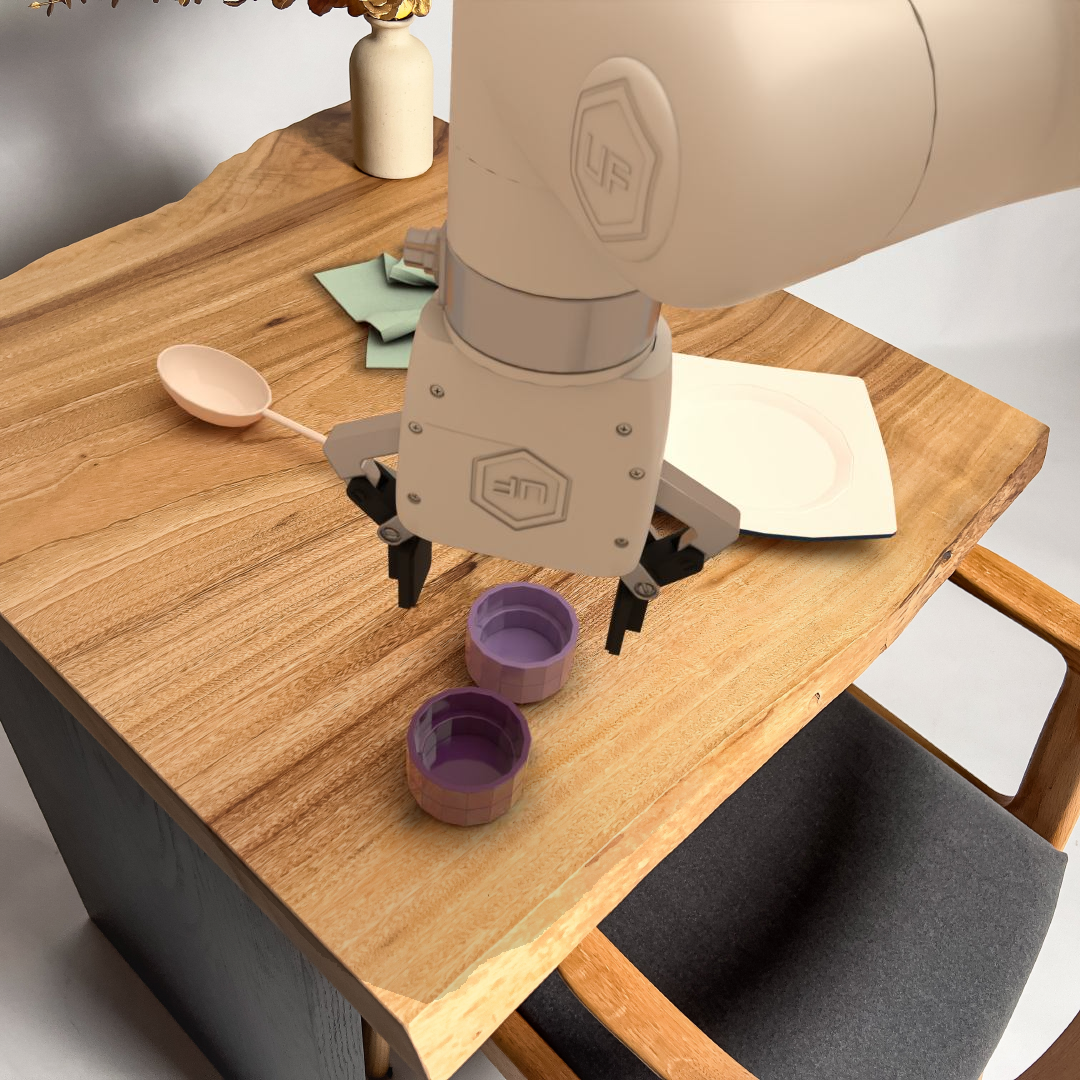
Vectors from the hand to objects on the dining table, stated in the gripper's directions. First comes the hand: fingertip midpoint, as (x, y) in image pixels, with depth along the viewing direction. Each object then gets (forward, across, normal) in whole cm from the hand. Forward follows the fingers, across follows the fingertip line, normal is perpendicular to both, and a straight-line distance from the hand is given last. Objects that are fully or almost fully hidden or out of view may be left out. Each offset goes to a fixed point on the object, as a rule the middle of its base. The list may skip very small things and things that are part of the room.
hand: (515, 608), depth 46 cm
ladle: (+14, -18, +22) cm, 32 cm away
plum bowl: (+14, -2, -1) cm, 14 cm away
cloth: (+14, -16, +45) cm, 50 cm away
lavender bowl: (+14, 0, +8) cm, 16 cm away
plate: (+14, +13, +32) cm, 38 cm away
